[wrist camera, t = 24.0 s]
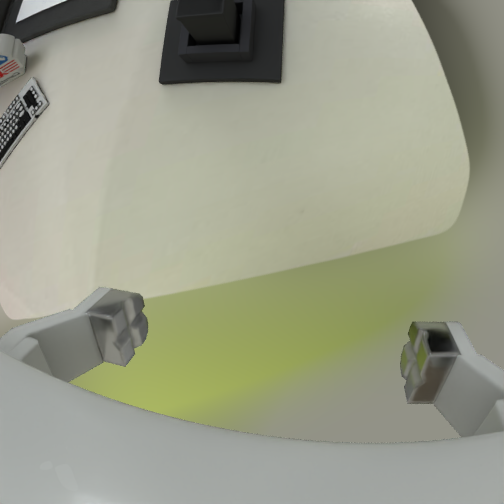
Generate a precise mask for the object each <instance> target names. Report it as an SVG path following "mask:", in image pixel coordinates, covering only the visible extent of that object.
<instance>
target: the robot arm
mask: <svg viewBox="0 0 504 504" xmlns="http://www.w3.org/2000/svg"><path fill="white" fill-rule="evenodd" d="M144 306H145V305H144V301H143V297H142V296H141V295H140V294H138V293H133V292H128V291H122V290H117V289H112V288H106V287H99V288H98V289H96V290H95V291H94V292H93V293H92V294H90V295H89V296H88V297H87V298H86V299H85V300H83V301H82V302H81V303H80V304H79V305H78V306H76V307H75V308H74V309H73V310H71V309H68V310H65V311H62V312H59V313H56V314H53V315H50V316H47V317H44V318H41V319H38V320H35V321H32V322H29V323H26V324H23V325H20V326H17V327H14V328H12V329H10V330H9V331H8V332H7V333H6V334H4V335H3V336H2V337H1V338H0V504H504V370H503V369H501V368H500V367H498V366H497V365H495V364H494V363H493V362H491V361H490V360H488V359H487V358H485V357H484V356H483V355H477V353H476V351H475V350H474V347H473V346H472V344H471V342H470V340H469V338H468V336H467V334H466V332H465V330H464V329H463V327H462V325H461V323H459V322H412V324H411V326H410V329H409V332H408V335H409V338H410V341H409V342H408V343H407V344H405V345H404V348H403V351H402V354H401V362H400V368H401V375H402V377H403V378H404V379H405V380H407V381H406V384H405V386H404V389H405V393H406V398H407V403H408V404H434V406H435V407H436V408H437V409H438V411H439V412H440V413H441V414H442V415H443V416H444V417H445V419H446V420H447V421H448V422H449V423H450V425H451V426H452V427H453V428H454V429H455V430H456V432H457V433H458V434H459V435H460V436H461V438H452V439H443V440H433V441H419V442H400V443H348V442H326V441H313V440H301V439H290V438H282V437H274V436H267V435H259V434H253V433H246V432H240V431H234V430H229V429H224V428H218V427H213V426H209V425H204V424H199V423H195V422H190V421H186V420H182V419H178V418H174V417H170V416H166V415H163V414H159V413H155V412H152V411H148V410H145V409H141V408H138V407H135V406H132V405H129V404H125V403H122V402H119V401H116V400H113V399H110V398H107V397H105V396H102V395H99V394H96V393H94V392H91V391H88V390H86V389H83V388H81V387H78V386H76V385H73V384H70V383H68V382H70V381H71V380H73V379H75V378H77V377H78V376H80V375H82V374H84V373H86V372H87V371H89V370H91V369H93V368H94V367H96V366H98V365H100V364H101V363H103V361H105V362H108V363H112V364H116V365H120V366H124V367H125V366H126V365H127V364H128V363H129V361H130V360H131V358H132V357H133V356H134V354H135V351H134V348H136V347H139V346H141V345H142V344H143V342H144V341H145V340H146V336H147V333H148V321H147V317H146V316H145V315H144V314H143V312H142V310H143V308H144Z"/></svg>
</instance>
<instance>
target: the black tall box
mask: <svg viewBox="0 0 504 504" xmlns="http://www.w3.org/2000/svg"><path fill="white" fill-rule="evenodd" d="M176 19H177V20H178V21H180V22H181V23H182V24H183V25H184V27H185V28H186V29H187V30H188V32H189V33H190V34H191V36H192V37H193V38H194V40H195V41H196V42H197V43H198V45H217V44H238V41H239V29H240V16H239V14H238V11H237V8H236V5H235V2H234V0H178V6H177V12H176Z"/></svg>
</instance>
